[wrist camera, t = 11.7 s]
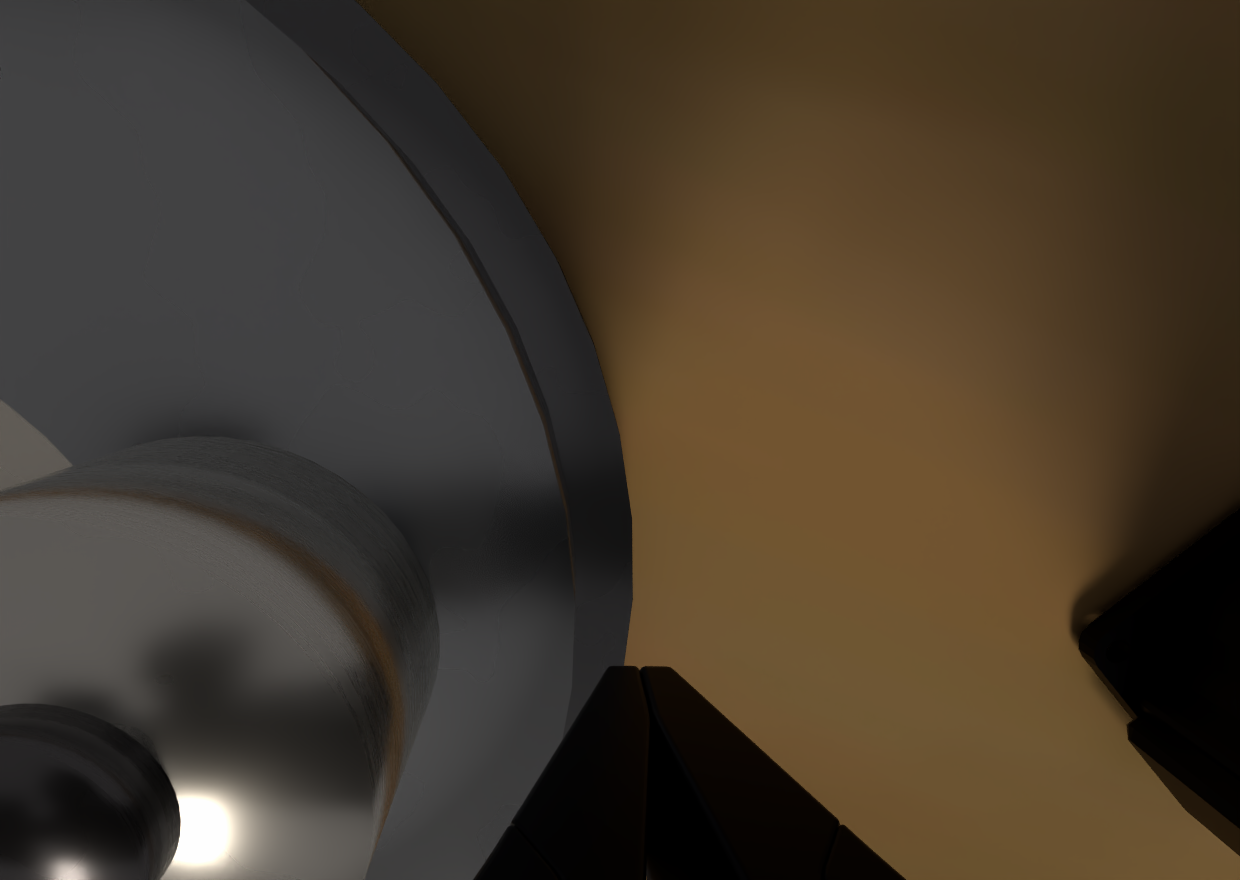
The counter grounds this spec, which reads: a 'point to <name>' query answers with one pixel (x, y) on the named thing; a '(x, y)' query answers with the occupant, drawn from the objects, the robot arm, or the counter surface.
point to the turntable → (288, 348)
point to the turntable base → (530, 289)
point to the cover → (204, 667)
